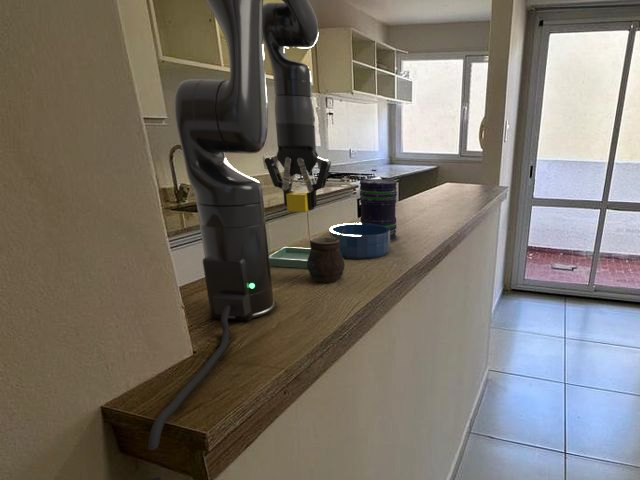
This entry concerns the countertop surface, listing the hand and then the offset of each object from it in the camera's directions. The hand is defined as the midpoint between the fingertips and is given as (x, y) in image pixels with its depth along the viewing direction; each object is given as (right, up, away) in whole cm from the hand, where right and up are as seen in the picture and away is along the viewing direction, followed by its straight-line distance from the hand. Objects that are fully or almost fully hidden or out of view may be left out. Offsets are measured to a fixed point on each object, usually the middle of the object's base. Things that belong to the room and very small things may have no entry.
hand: (301, 208), depth 96 cm
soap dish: (-1, -11, +4) cm, 11 cm away
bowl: (+11, -8, +13) cm, 18 cm away
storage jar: (+14, -2, +27) cm, 31 cm away
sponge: (0, 0, 0) cm, 0 cm away
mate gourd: (+7, -16, -7) cm, 19 cm away
